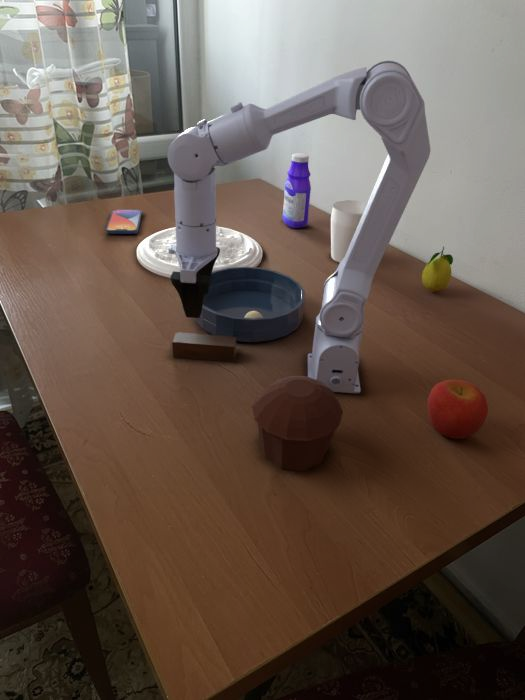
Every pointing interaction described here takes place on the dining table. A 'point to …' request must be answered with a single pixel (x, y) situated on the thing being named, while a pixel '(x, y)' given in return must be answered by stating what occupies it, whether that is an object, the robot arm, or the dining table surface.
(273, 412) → the muffin
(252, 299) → the bowl
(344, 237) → the cup
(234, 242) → the ceiling medallion
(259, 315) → the dough ball
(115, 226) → the smartphone
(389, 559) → the dining table surface
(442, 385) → the apple
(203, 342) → the block
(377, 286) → the dining table surface
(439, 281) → the pear
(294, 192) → the bottle
